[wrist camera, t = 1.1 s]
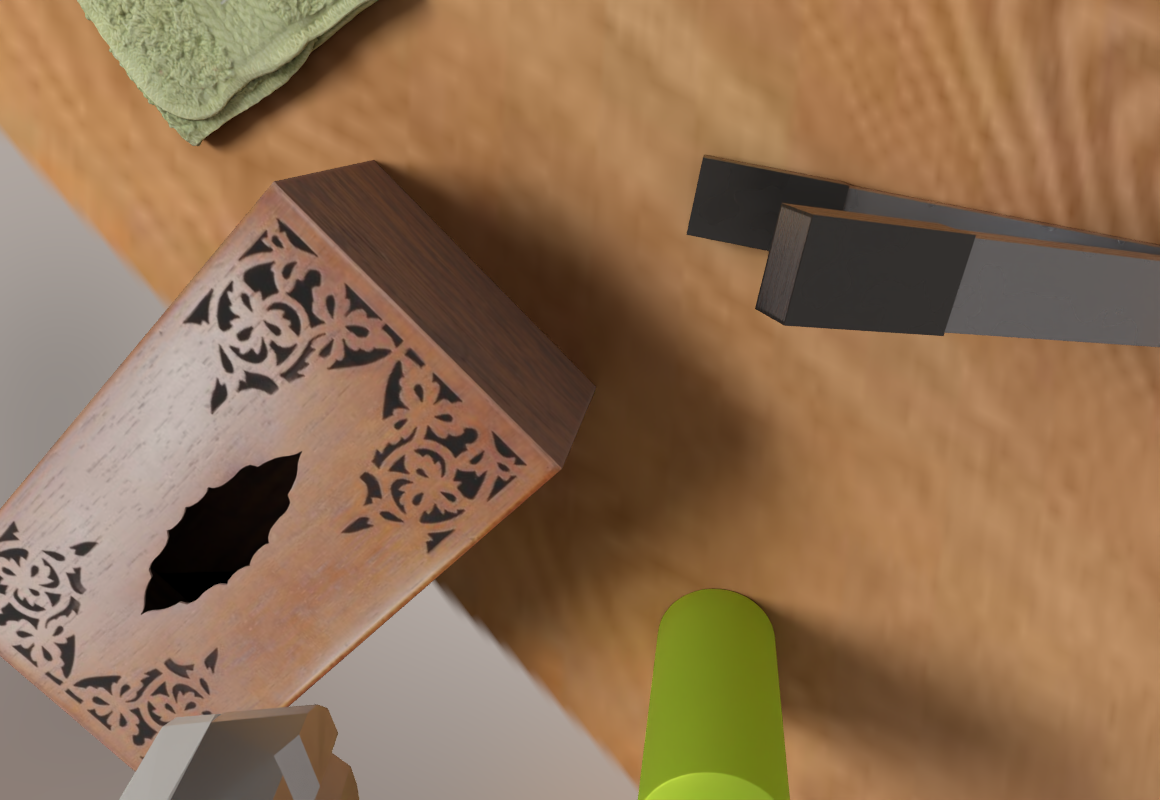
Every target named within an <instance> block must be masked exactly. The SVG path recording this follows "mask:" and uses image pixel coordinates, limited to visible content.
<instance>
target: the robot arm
mask: <svg viewBox="0 0 1160 800" xmlns="http://www.w3.org/2000/svg"><path fill="white" fill-rule="evenodd" d="M337 735H338V732H337V729H336V727H335V725H334V722H333V720H332V718H331V715H330V713H329V710H328V709H327V708H325V707H323V706H320V705H305V706H293V707H281V708H269V709H257V710H245V711H233V712H223V713H222V714H211V715H199V716H186V717H176V718H174V719H173V720H172V721H170V722H169V723H167V724H166V725H164V726H163V727H162V728H161V730H160V731H159V733H158V735H157V736H156V738H155V740H154V742H153V743H152V745H151V747H150V748H149V750H148V752H147V753H146V755H145V757H144V759H143V760H142V762H141V764H140V765H139V767H138V769H137V770H136V772H135V774H134V776H133V778H132V779H131V781H130V782H129V784H128V786H127V788H126V789H125V791H124V793H123V794H122V796H121V798H120V799H119V800H359V796H358V789H357V783H356V781H355V778H354V775H353V772H352V769H351V767H350V766H349V765H348V764H347V763H345V762H344V761H342V760H341V759H340V758H338V757H337V756H336V755H334V754H333V753H332V750H333V747H334V744H335V741H336V738H337Z"/></svg>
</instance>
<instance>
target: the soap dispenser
mask: <svg viewBox="0 0 1160 800" xmlns="http://www.w3.org/2000/svg"><path fill="white" fill-rule="evenodd" d="M638 800H790V796H789V786H788V775H787V764H786V753H785V742H784V731H783V720H782V709H781V699H780V688H779V677H778V666H777V655H776V644H775V635H774V630H773V627H772V624H771V622H770V620H769V618H768V617H767V615H766V614H765V613H764V611H763V610H762V609H761V608H760V607H759V606H758V605H757V604H756V603H754V602H753V601H752V600H750V599H749V598H747V597H745V596H743V595H741V594H738V593H736V592H732V591H728V590H723V589H704V590H699V591H695V592H692V593H689V594H687V595H685V596H683V597H681V598H680V599H678V600H677V601H676V602H674V603H673V604H672V605H671V606H670V607H669V608H668V610H667V611H666V612H665V614H664V616H663V617H662V620H661V622H660V625H659V630H658V637H657V645H656V654H655V662H654V670H653V679H652V687H651V695H650V703H649V712H648V720H647V728H646V736H645V745H644V753H643V761H642V769H641V778H640V786H639V794H638Z"/></svg>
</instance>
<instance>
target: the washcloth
mask: <svg viewBox="0 0 1160 800" xmlns="http://www.w3.org/2000/svg"><path fill="white" fill-rule="evenodd" d="M77 1H78V2H79V4H80V5H81V7H82V9H83V11H84V12H85V17H86V18H87V19H88V20H91V21H92V22H93V23H94V24H95V26H96V28H97V29H98V31H99V33H100V35H101V36H102V37H103V39H104V40H105V41H106V42H107V44H108V45H109V46H110V49H109V51H110V52H112V53H113V56H114V57H115V58H116V59H117V60H119V62H120V66H122V67H123V68H124V69H125V70H126V72H127V75H128V76H129V78H130V79H131V80H132V81H133V82H134V83H135V84H136V85H137V88H138V89H139V90H140V91H141V92H143V94H144V97H145V98H147V99H148V102H149V104H152V105H155V106H156V107H157V109H158V110H159V111H160V112H161V113H162V116H163V118H164V119H165V120H166V121H168V124H169V126H170V127H171V128H175V129H176V131H177V132H178V133H179V134H180V135H181V137H182V138H183V139H184V140H186V141H187V142H189V143H190V144H191V145H193V146H199V145H200V144H201V142H202V140H203V139H205V138H206V137H207V136H208V135H209V134H211V133H212V132H214V131H215V130H217V129H218V128H219V127H220V126H222V125H223V124H224V123H226V122H227V121H229V120H230V119H231V118H233V117H234V116H237V115H238V114H240V113H242V112H243V111H245V110H247V109H248V108H249V107H251V106H253V105H254V104H256V103H258V102H259V101H261V100H262V99H263V98H264V97H266V96H268V95H270V94H271V93H272V92H274V91H275V90H276V89H278V88H279V87H281V86H282V85H284V84H285V83H286V82H288V80H289V79H290V78H291V76H292V75H293V74H295V73H296V72H297V71H298V70H299V68H300V67H301V66H302V65H303V64H304V63H305V61H306V60H307V58H308V56H309V54H310V53H311V52H312V51H313V50H315V49H316V48H317V47H319V46H320V45H322V44H323V43H324V42H325V41H326V40H328V39H329V38H330V37H331V36H332V35H334V34H335V33H336V32H337V31H338V30H339V29H340V28H342V27H343V26H344V25H346V24H347V23H348V22H349V21H351V20H352V19H353V18H354V17H355V16H356V15H357V14H359V13H360V12H362V11H363V10H364V9H366V8H367V7H369V6H371V5H372V4H373V3H375V2H377V1H378V0H77Z"/></svg>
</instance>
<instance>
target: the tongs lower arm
mask: <svg viewBox="0 0 1160 800" xmlns="http://www.w3.org/2000/svg"><path fill="white" fill-rule="evenodd" d="M781 203H786V204H794V205H801V206H809V207H817V208H825V209H832V210H840V211H848V212H855V213H863V214H871V215H878V216H886V217H894V218H901V219H909V220H917V221H924V222H932V223H939V224H943V225H946V226H949V227H952V228H955V229H960V230H967V231H975V232H983V233H991V234H999V235H1006V236H1014V237H1022V238H1030V239H1038V240H1045V241H1053V242H1061V243H1069V244H1077V245H1085V246H1092V247H1100V248H1108V249H1116V250H1124V251H1131V252H1139V253H1147V254H1155V255H1160V245H1158V244H1153V243H1148V242H1143V241H1137V240H1132V239H1127V238H1122V237H1117V236H1111V235H1106V234H1101V233H1096V232H1091V231H1085V230H1080V229H1075V228H1070V227H1065V226H1059V225H1054V224H1049V223H1044V222H1039V221H1033V220H1028V219H1023V218H1018V217H1013V216H1007V215H1002V214H997V213H992V212H987V211H981V210H976V209H971V208H966V207H961V206H955V205H950V204H945V203H940V202H935V201H929V200H924V199H919V198H914V197H909V196H903V195H898V194H893V193H888V192H883V191H877V190H872V189H867V188H862V187H857V186H851V185H848V184H847V183H846V182H844V181H838V180H833V179H828V178H823V177H818V176H812V175H807V174H802V173H797V172H792V171H786V170H781V169H776V168H771V167H766V166H760V165H755V164H750V163H745V162H740V161H734V160H729V159H724V158H719V157H713V156H708V155H704V156H703V161H702V165H701V170H700V175H699V179H698V184H697V189H696V193H695V198H694V203H693V207H692V212H691V217H690V221H689V226H688V230H687V235H691V236H696V237H701V238H706V239H712V240H717V241H722V242H727V243H732V244H737V245H742V246H747V247H752V248H757V249H762V250H767V251H770V247H771V243H772V239H773V235H774V231H775V227H776V223H777V219H778V215H779V211H780V207H781Z"/></svg>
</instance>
